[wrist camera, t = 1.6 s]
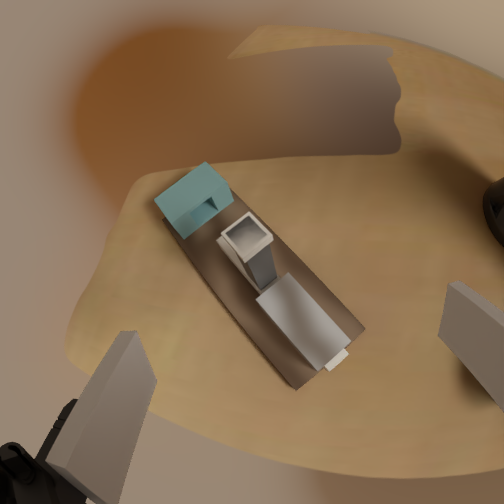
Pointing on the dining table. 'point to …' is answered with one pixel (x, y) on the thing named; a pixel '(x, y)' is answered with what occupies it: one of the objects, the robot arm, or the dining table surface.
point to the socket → (194, 199)
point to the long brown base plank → (274, 300)
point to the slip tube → (256, 259)
